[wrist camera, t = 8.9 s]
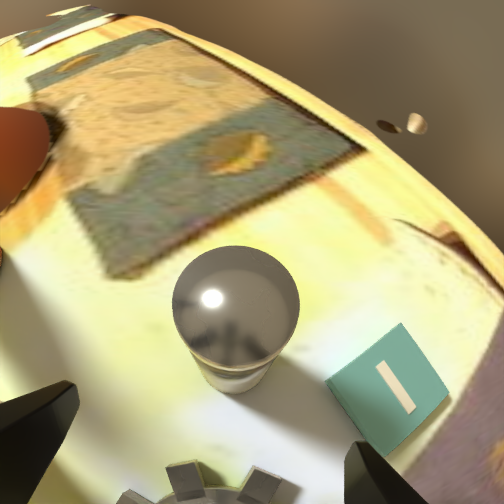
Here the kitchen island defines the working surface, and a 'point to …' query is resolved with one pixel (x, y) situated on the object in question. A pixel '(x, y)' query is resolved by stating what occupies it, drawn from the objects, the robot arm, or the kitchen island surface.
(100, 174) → the kitchen island surface
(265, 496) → the sprocket
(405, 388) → the pad
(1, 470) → the robot arm
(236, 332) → the roller
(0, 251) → the sauce bottle
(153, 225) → the kitchen island surface
